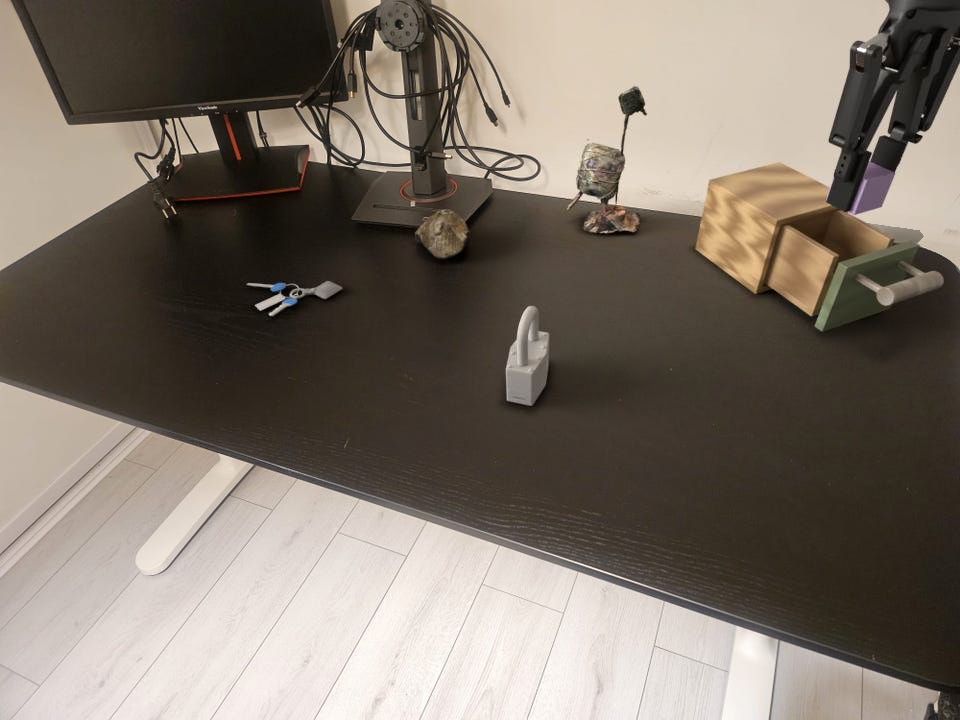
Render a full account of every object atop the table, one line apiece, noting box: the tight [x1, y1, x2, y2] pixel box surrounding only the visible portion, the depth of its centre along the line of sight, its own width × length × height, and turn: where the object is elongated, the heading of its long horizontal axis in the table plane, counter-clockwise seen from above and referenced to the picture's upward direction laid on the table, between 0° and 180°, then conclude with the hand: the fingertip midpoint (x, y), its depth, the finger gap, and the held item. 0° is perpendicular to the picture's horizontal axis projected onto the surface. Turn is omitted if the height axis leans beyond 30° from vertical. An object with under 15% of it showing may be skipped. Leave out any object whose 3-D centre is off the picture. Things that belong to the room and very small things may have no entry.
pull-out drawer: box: [764, 209, 945, 333], centre depth 72 cm, size 16×10×9 cm, turn 22°
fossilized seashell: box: [414, 209, 471, 260], centre depth 91 cm, size 8×7×10 cm
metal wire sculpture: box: [567, 85, 648, 234], centre depth 89 cm, size 8×11×20 cm
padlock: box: [505, 305, 550, 407], centre depth 66 cm, size 7×4×10 cm, turn 161°
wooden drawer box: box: [694, 161, 849, 295], centre depth 82 cm, size 13×12×11 cm
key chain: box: [246, 280, 343, 317], centre depth 83 cm, size 14×8×1 cm, turn 88°
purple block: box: [826, 161, 896, 216], centre depth 67 cm, size 4×4×4 cm
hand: (854, 201), depth 68 cm, fingers closed on purple block, 4 cm apart
